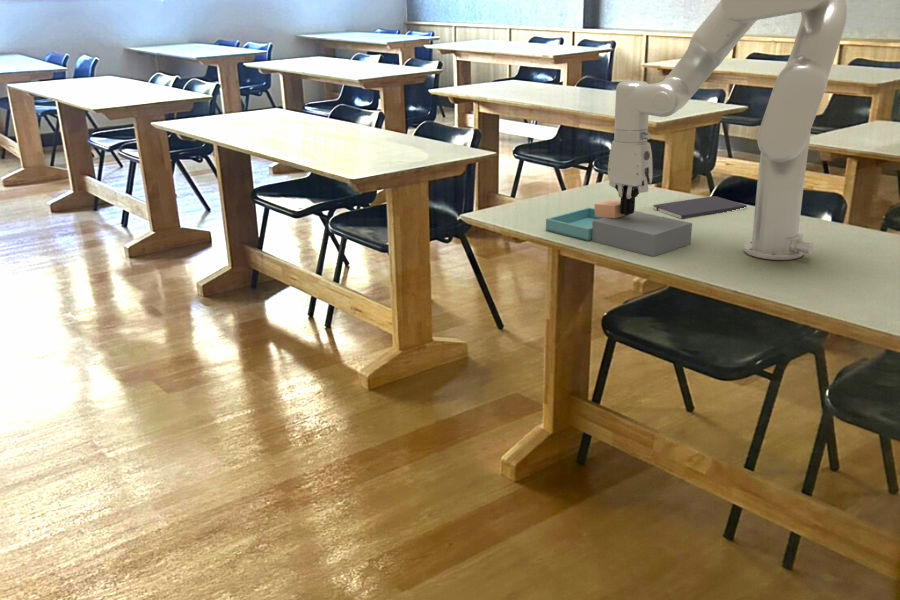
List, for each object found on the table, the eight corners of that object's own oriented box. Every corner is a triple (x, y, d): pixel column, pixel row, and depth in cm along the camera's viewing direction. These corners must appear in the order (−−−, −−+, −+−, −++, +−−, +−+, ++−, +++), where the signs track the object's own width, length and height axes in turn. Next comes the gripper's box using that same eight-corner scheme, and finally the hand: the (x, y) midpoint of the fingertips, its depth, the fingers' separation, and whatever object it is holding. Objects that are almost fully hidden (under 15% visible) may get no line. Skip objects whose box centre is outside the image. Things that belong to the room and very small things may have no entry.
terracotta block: (630, 213, 209) (629, 201, 208) (614, 218, 205) (614, 206, 205) (610, 211, 214) (609, 199, 213) (594, 216, 210) (594, 204, 209)
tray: (631, 228, 216) (631, 216, 215) (588, 241, 207) (588, 229, 206) (588, 218, 226) (589, 207, 225) (545, 230, 217) (546, 218, 216)
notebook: (681, 221, 223) (746, 210, 231) (681, 215, 223) (746, 205, 231) (651, 210, 234) (714, 201, 242) (651, 205, 234) (715, 195, 242)
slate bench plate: (690, 243, 202) (692, 223, 201) (653, 256, 194) (654, 235, 192) (629, 229, 215) (630, 209, 214) (592, 240, 207) (592, 220, 205)
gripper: (667, 137, 196) (662, 216, 202) (615, 130, 207) (612, 205, 213) (646, 142, 192) (642, 222, 198) (595, 134, 202) (592, 211, 209)
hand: (627, 213), depth 206 cm, fingers closed
